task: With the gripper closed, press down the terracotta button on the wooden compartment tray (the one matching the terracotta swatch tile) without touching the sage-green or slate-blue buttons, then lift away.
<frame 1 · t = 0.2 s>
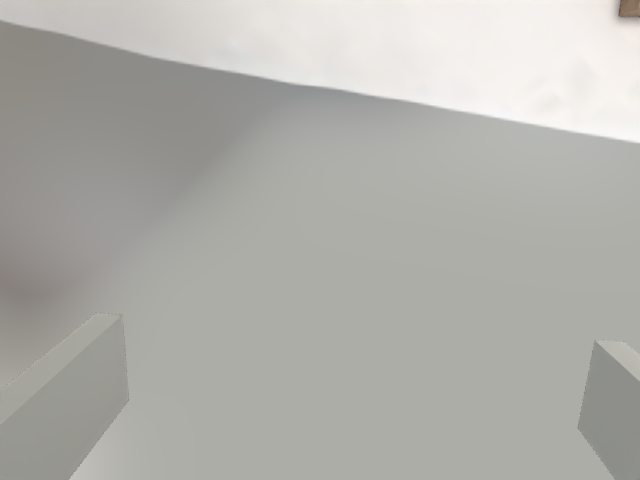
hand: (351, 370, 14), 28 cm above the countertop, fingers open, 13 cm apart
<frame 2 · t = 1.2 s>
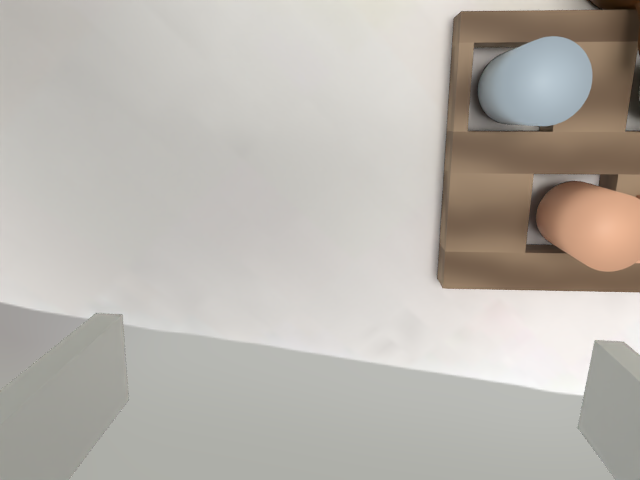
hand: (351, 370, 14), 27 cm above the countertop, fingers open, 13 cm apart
terracotta button: (590, 223, 33), point 5 cm above the countertop, slide at 0.0 cm
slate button: (529, 85, 31), point 5 cm above the countertop, slide at 0.0 cm
wooden compartment tray: (576, 157, 37), on the countertop
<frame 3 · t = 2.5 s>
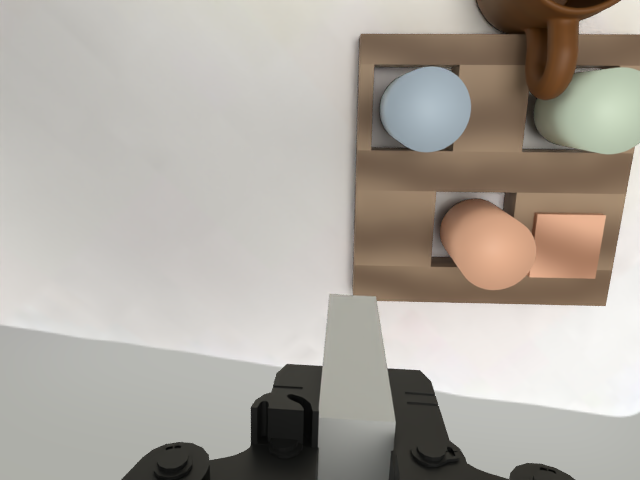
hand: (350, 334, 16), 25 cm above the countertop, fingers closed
terracotta button: (483, 241, 34), point 6 cm above the countertop, slide at 0.0 cm
sage button: (590, 110, 32), point 6 cm above the countertop, slide at 0.0 cm
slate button: (420, 109, 32), point 5 cm above the countertop, slide at 0.0 cm
mug: (519, 15, 36), on the countertop
wooden compartment tray: (481, 174, 39), on the countertop
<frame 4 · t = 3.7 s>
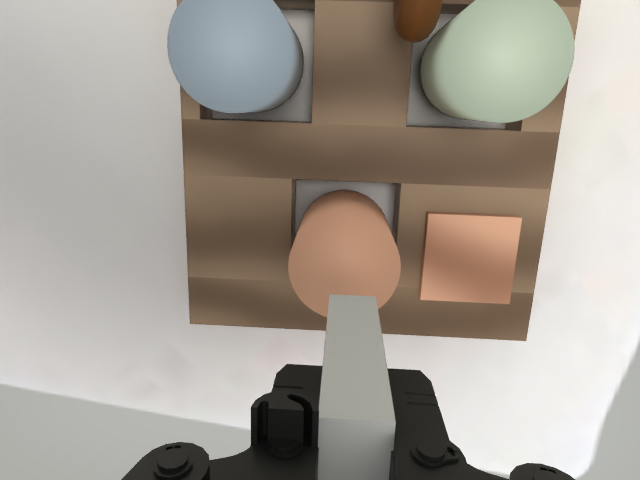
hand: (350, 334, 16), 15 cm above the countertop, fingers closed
terracotta button: (344, 249, 24), point 5 cm above the countertop, slide at 0.0 cm
sage button: (486, 63, 22), point 5 cm above the countertop, slide at 0.0 cm
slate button: (244, 56, 22), point 5 cm above the countertop, slide at 0.0 cm
wooden compartment tray: (363, 158, 29), on the countertop
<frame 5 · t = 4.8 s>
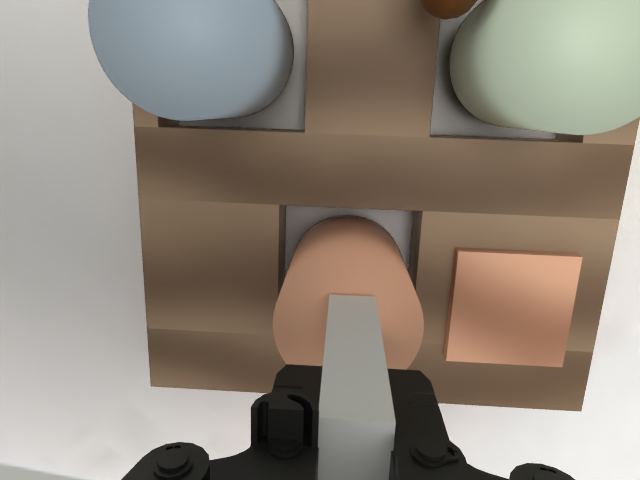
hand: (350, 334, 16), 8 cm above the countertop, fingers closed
terracotta button: (347, 294, 19), point 5 cm above the countertop, slide at 0.8 cm, touching gripper
sage button: (547, 50, 16), point 5 cm above the countertop, slide at 0.0 cm
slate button: (209, 40, 16), point 5 cm above the countertop, slide at 0.0 cm
wooden compartment tray: (372, 176, 22), on the countertop
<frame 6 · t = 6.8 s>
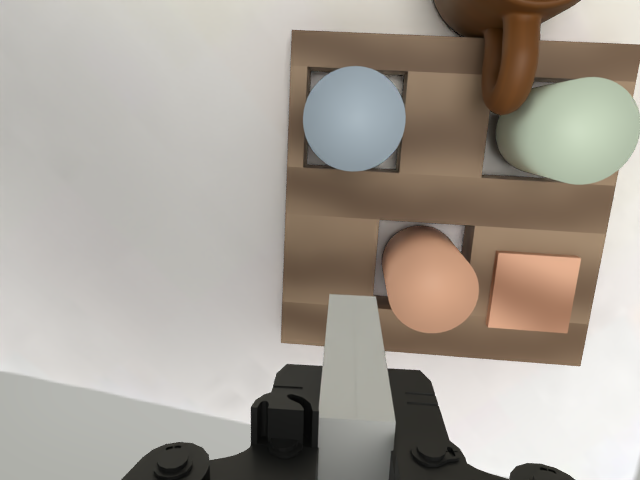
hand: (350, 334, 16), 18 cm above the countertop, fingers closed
terracotta button: (425, 275, 30), point 4 cm above the countertop, slide at 1.5 cm
sage button: (559, 131, 26), point 5 cm above the countertop, slide at 0.0 cm
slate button: (354, 120, 27), point 5 cm above the countertop, slide at 0.0 cm
mug: (484, 17, 30), on the countertop
wooden compartment tray: (437, 201, 33), on the countertop
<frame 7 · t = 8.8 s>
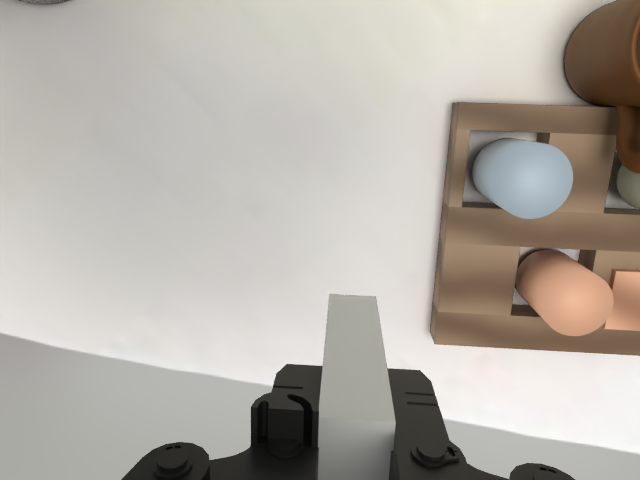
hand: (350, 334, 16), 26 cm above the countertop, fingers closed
terracotta button: (560, 290, 38), point 4 cm above the countertop, slide at 1.5 cm
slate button: (518, 175, 35), point 5 cm above the countertop, slide at 0.0 cm
mug: (603, 86, 38), on the countertop
wooden compartment tray: (559, 229, 41), on the countertop
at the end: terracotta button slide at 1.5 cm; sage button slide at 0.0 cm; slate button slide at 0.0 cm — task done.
